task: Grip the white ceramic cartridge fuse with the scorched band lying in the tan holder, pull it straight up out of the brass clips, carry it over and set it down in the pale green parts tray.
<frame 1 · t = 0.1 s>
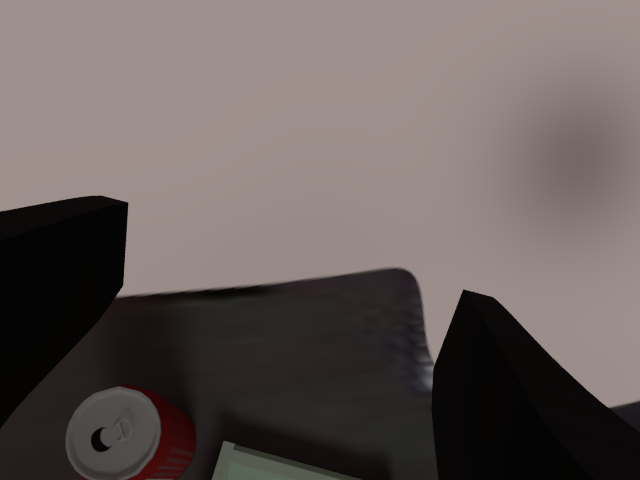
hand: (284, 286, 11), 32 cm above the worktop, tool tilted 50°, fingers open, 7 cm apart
soda can: (159, 445, 40), on the worktop
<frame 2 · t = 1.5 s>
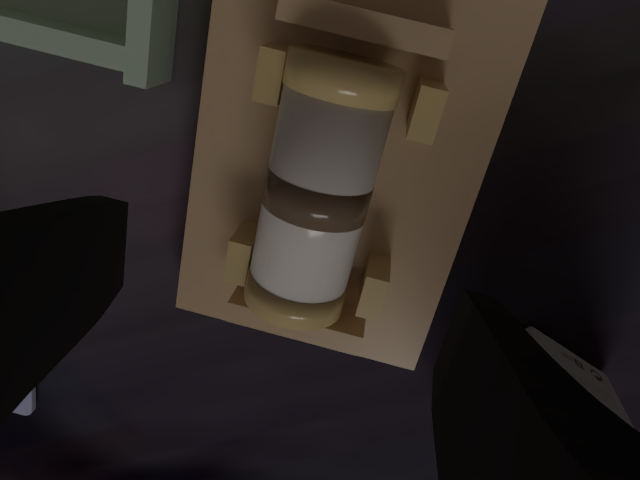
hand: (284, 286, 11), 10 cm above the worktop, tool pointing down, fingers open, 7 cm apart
fuse: (331, 177, 19), point 2 cm above the worktop, tilted 8°, touching fuse holder
fuse holder: (336, 165, 21), on the worktop
skincare box: (518, 392, 24), on the worktop
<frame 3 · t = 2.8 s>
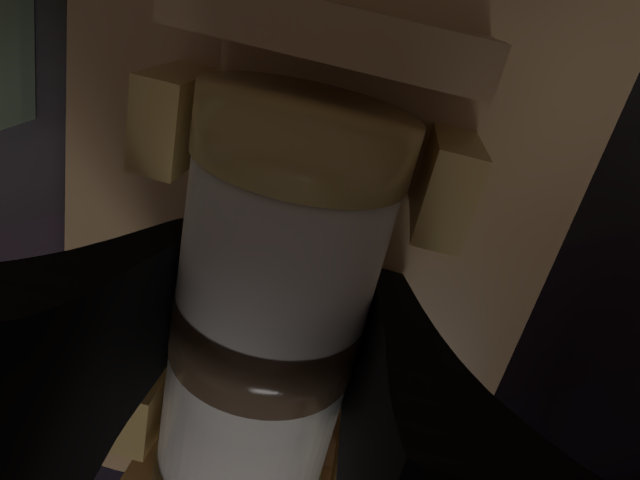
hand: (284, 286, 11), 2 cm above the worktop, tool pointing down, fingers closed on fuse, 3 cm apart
fuse: (286, 282, 12), point 2 cm above the worktop, touching fuse holder, gripper
fuse holder: (300, 250, 13), on the worktop
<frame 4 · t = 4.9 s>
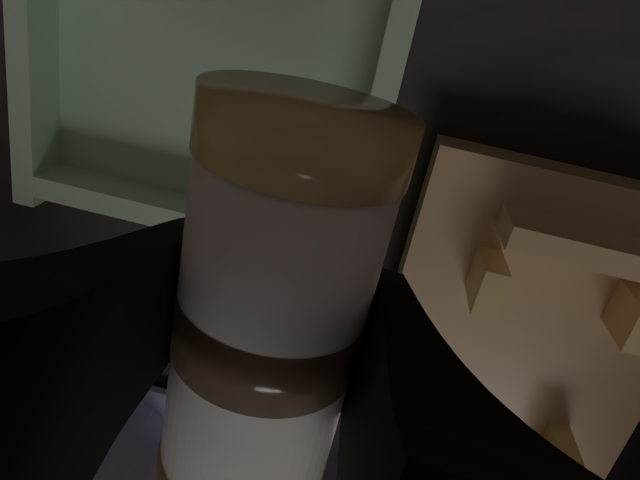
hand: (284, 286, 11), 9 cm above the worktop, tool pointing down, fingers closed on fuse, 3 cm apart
fuse: (289, 281, 12), point 9 cm above the worktop, touching gripper
fuse holder: (511, 334, 21), on the worktop
parts tray: (218, 53, 19), on the worktop
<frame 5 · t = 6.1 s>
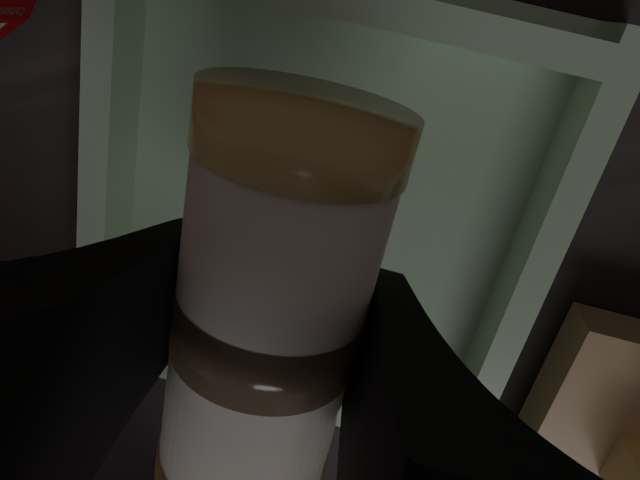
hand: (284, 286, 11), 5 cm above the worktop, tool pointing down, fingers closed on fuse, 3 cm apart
fuse: (288, 279, 12), point 5 cm above the worktop, touching gripper
parts tray: (319, 204, 16), on the worktop
when the fingers open (2 cm above the worktop, at t = 7.1 s): fuse stays where it is, resting on parts tray.
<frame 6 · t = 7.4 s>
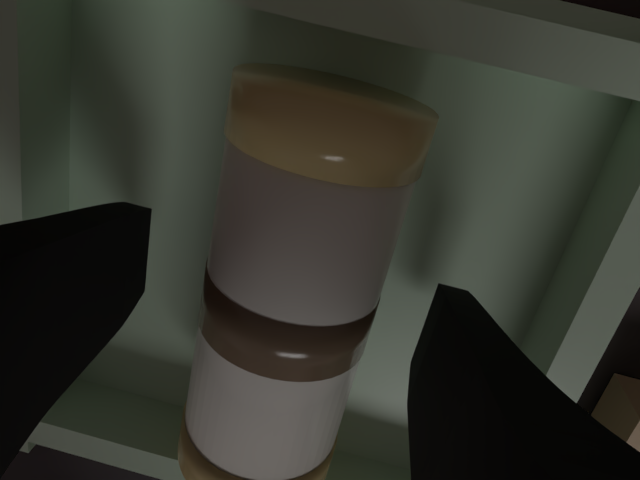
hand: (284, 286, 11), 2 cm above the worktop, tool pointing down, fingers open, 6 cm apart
fuse: (296, 259, 12), point 1 cm above the worktop, tilted 6°, touching parts tray
parts tray: (299, 252, 13), on the worktop
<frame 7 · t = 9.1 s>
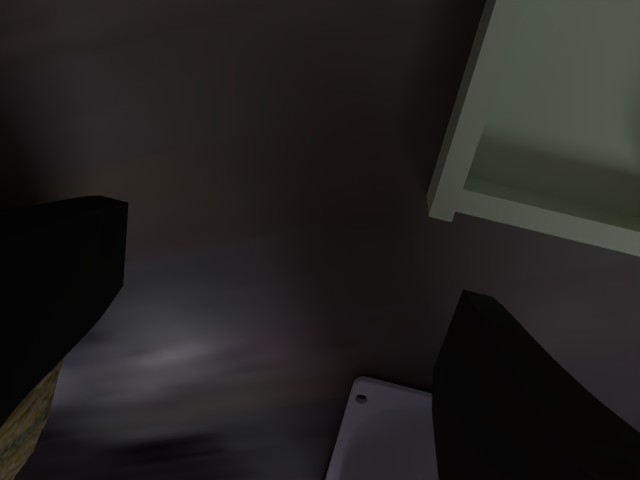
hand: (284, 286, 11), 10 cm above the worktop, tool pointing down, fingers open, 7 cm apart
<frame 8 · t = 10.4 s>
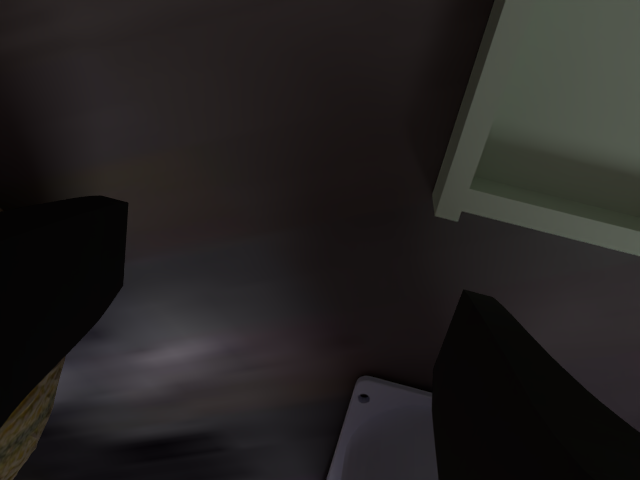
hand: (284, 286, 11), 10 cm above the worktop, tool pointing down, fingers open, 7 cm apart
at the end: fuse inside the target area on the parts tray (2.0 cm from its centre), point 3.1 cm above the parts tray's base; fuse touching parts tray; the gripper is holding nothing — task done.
